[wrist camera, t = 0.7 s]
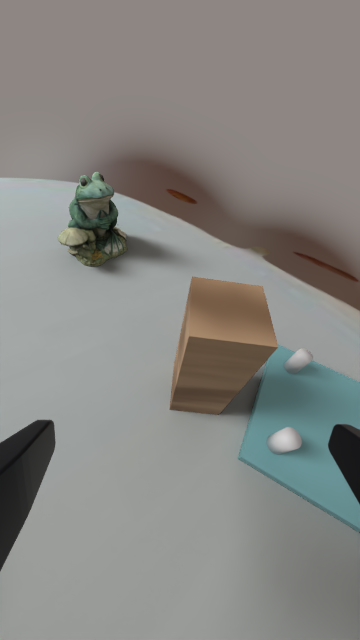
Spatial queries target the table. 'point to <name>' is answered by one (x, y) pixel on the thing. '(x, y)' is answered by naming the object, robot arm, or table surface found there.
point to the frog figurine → (93, 223)
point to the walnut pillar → (220, 344)
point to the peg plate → (303, 430)
